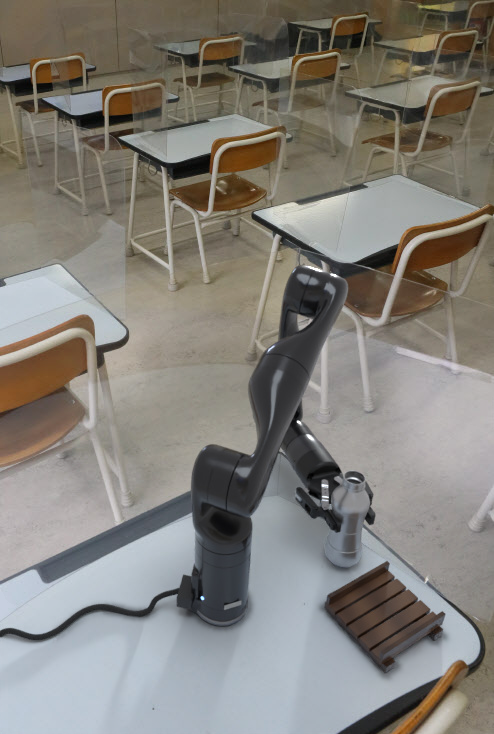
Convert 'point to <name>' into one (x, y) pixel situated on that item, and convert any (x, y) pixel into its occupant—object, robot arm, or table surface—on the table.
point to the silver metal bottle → (348, 520)
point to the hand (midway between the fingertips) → (355, 525)
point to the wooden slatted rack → (382, 615)
